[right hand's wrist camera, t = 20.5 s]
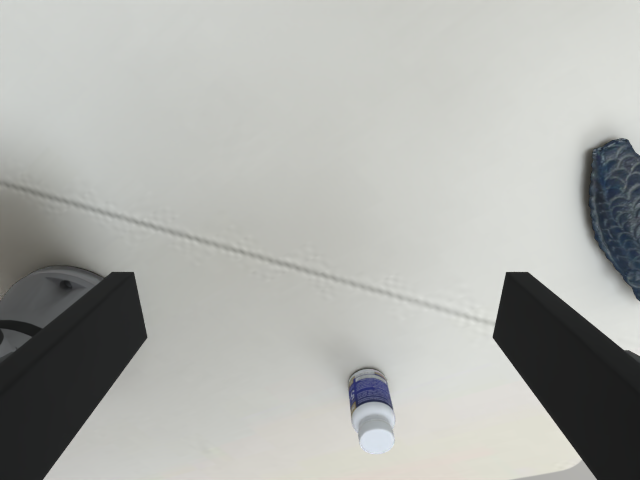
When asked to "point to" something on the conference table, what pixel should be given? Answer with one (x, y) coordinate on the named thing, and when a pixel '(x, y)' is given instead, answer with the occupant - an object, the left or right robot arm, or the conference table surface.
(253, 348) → the conference table surface
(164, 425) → the conference table surface
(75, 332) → the right robot arm
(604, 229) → the fish model
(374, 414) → the pill bottle
